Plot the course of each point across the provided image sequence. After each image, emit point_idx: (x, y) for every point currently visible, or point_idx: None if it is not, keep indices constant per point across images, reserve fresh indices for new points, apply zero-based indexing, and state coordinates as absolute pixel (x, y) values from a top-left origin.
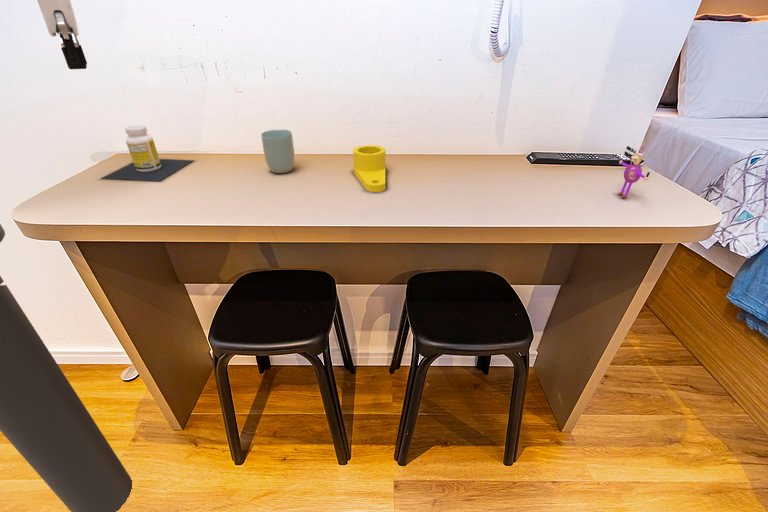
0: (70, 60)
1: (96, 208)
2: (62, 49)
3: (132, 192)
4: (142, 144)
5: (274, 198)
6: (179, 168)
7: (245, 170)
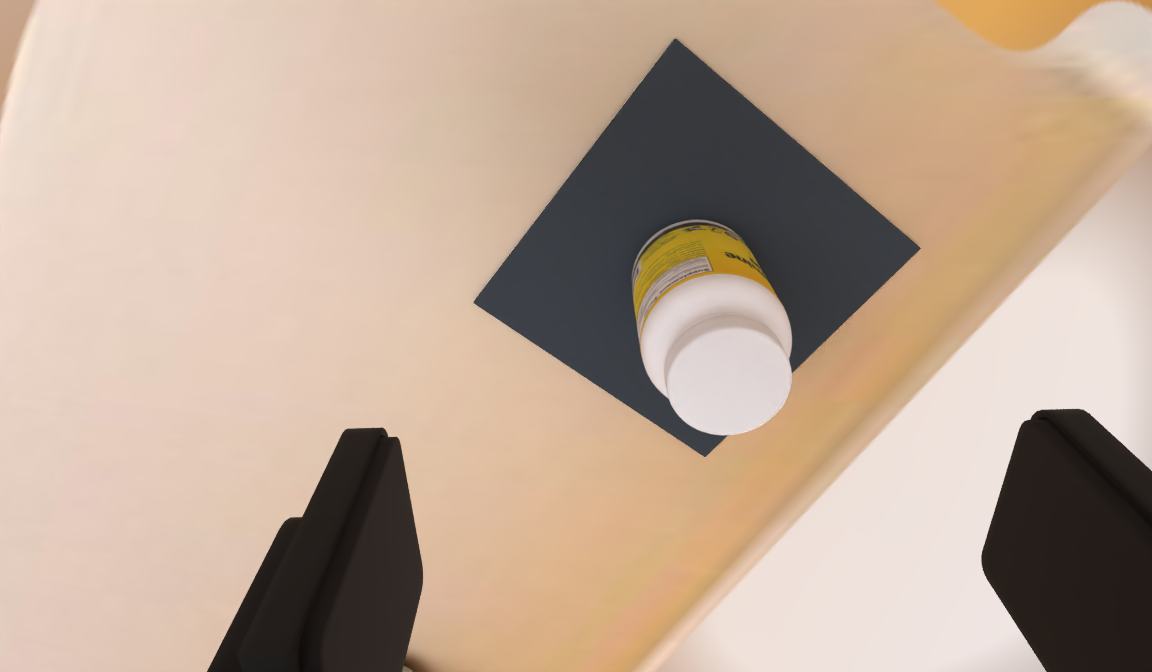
0: (274, 547)
1: (217, 21)
2: (251, 637)
3: (376, 181)
4: (640, 347)
5: (113, 600)
6: (614, 393)
7: (452, 591)
